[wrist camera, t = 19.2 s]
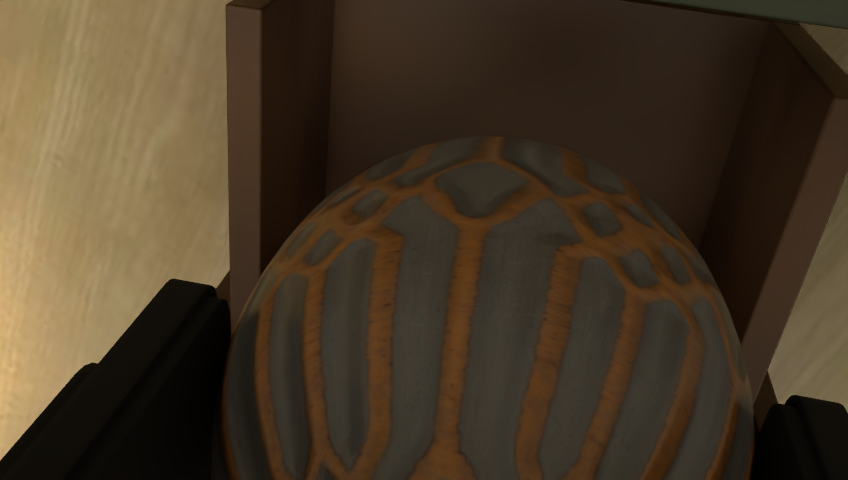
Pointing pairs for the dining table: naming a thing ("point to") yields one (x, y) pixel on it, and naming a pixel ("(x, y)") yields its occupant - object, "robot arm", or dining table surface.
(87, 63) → the dining table surface
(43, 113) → the dining table surface
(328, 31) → the drawer
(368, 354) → the vase
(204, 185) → the dining table surface
